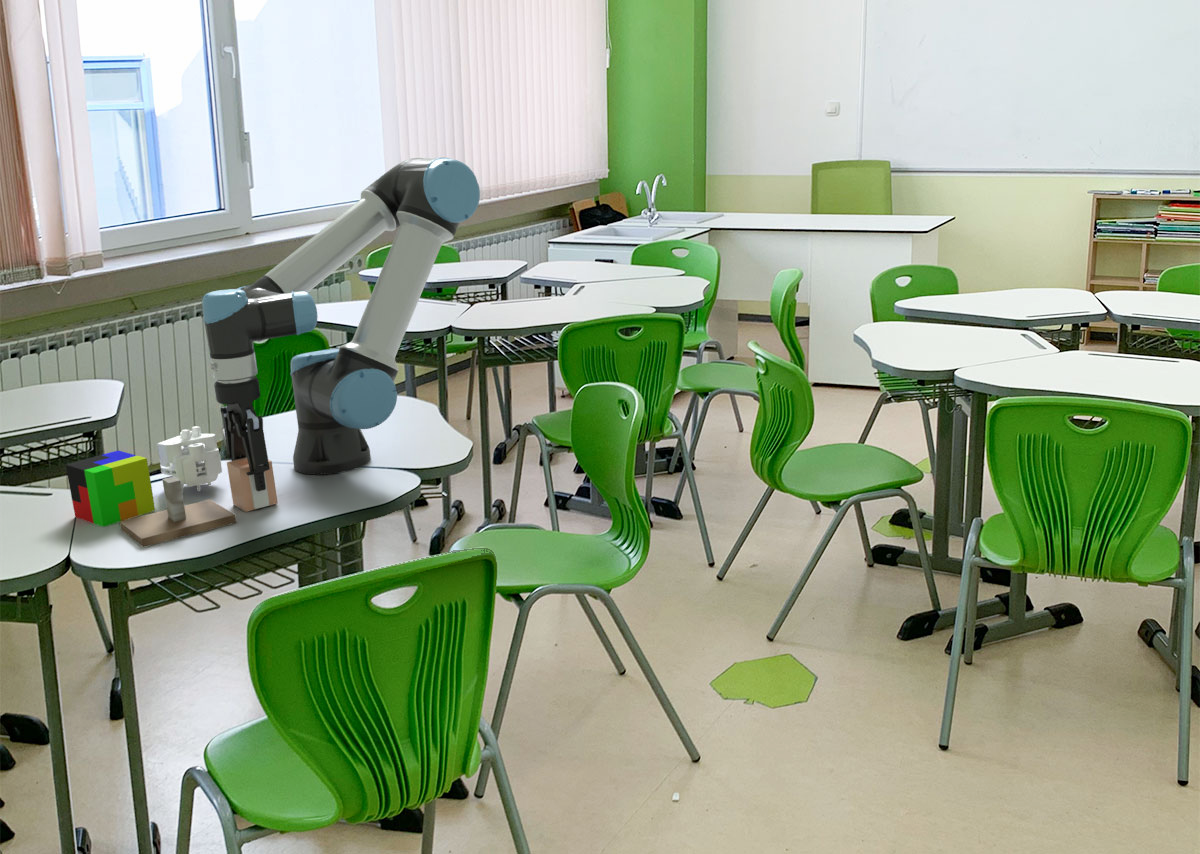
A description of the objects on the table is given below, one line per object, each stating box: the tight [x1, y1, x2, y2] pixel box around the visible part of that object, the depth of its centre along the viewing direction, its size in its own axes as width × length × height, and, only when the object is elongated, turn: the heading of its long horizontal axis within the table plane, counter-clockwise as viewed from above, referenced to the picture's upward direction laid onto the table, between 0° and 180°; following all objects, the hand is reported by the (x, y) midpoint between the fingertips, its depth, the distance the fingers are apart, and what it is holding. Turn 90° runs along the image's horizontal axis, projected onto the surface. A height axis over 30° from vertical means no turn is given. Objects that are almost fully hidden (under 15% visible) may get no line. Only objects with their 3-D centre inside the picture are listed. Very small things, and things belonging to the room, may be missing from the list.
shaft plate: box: [119, 476, 237, 548], centre depth 202 cm, size 16×12×8 cm
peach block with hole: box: [226, 457, 278, 513], centre depth 211 cm, size 6×6×8 cm
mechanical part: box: [156, 426, 223, 493], centre depth 223 cm, size 11×12×12 cm
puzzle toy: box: [65, 450, 156, 528], centre depth 211 cm, size 10×10×10 cm
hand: (254, 502), depth 212 cm, fingers closed on peach block with hole, 6 cm apart
